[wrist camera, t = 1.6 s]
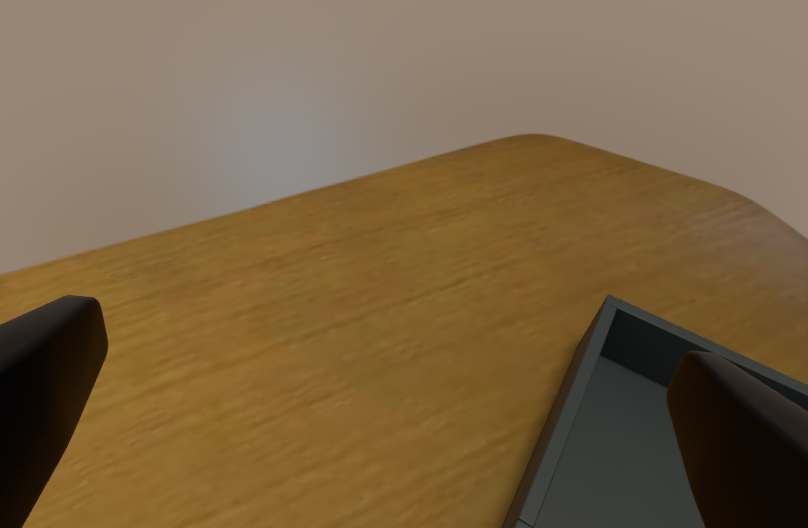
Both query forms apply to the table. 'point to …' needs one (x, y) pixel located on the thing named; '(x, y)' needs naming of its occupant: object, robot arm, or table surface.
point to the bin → (621, 429)
